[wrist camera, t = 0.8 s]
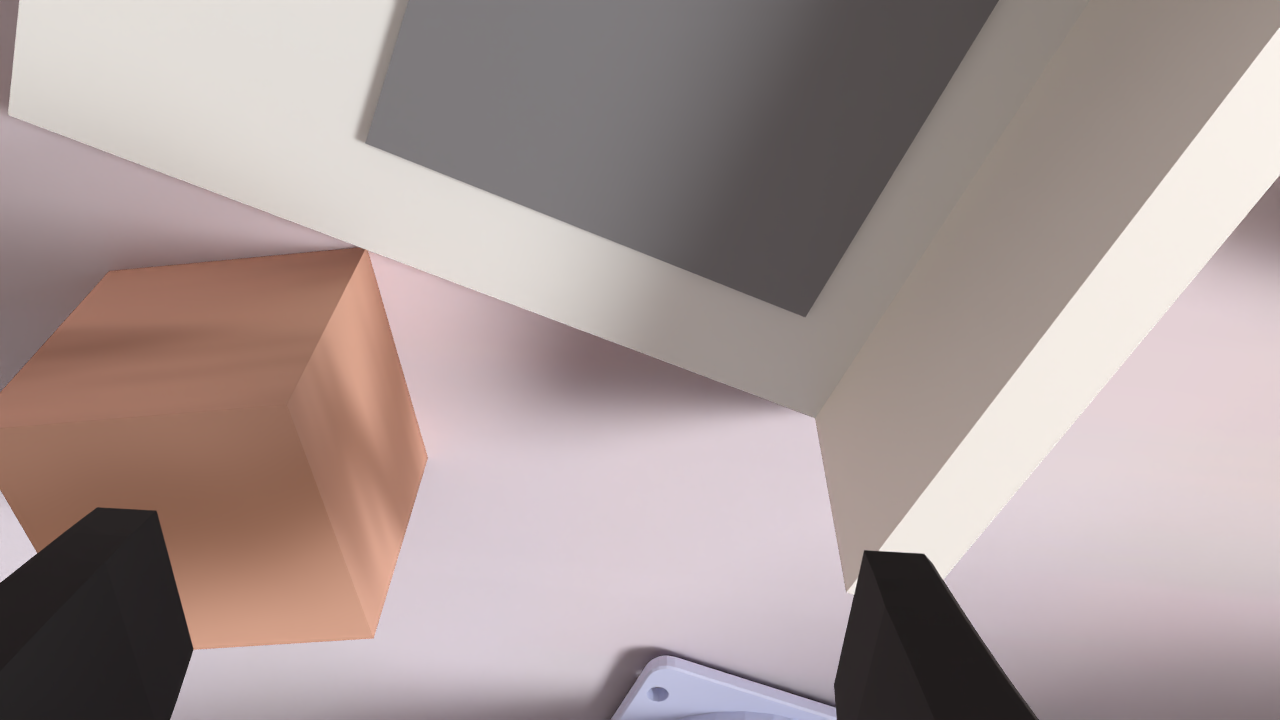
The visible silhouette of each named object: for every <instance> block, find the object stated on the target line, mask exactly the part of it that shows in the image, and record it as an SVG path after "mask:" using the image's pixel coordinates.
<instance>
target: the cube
mask: <svg viewBox="0 0 1280 720" xmlns="http://www.w3.org/2000/svg"><path fill="white" fill-rule="evenodd" d="M427 459H428V457H427V453H426V450H425V447H424V443H423V440H422V436H421V433H420V429H419V426H418V422H417V419H416V416H415V412H414V409H413V405H412V402H411V398H410V395H409V391H408V388H407V384H406V381H405V378H404V374H403V371H402V367H401V364H400V360H399V357H398V353H397V350H396V347H395V343H394V340H393V336H392V333H391V329H390V326H389V322H388V319H387V315H386V312H385V309H384V305H383V302H382V298H381V295H380V291H379V288H378V284H377V281H376V278H375V274H374V271H373V267H372V264H371V260H370V257H369V253H368V250H366V249H363V248H349V249H339V250H328V251H317V252H307V253H296V254H285V255H275V256H264V257H253V258H243V259H232V260H221V261H211V262H200V263H189V264H179V265H168V266H157V267H147V268H136V269H125V270H115V271H109V272H108V273H107V274H106V275H105V276H104V277H103V278H102V280H101V281H100V282H99V283H98V284H97V285H96V286H95V287H94V289H93V290H92V291H91V292H90V293H89V294H88V295H87V296H86V297H85V299H84V300H83V301H82V302H81V303H80V304H79V305H78V306H77V307H76V309H75V310H74V311H73V312H72V313H71V314H70V315H69V316H68V318H67V319H66V320H65V321H64V322H63V323H62V324H61V325H60V326H59V328H58V329H57V330H56V331H55V332H54V333H53V334H52V335H51V336H50V338H49V339H48V340H47V341H46V342H45V343H44V344H43V345H42V346H41V348H40V349H39V350H38V351H37V352H36V353H35V354H34V355H33V357H32V358H31V359H30V360H29V361H28V362H27V363H26V364H25V365H24V367H23V368H22V369H21V370H20V371H19V372H18V373H17V374H16V375H15V377H14V378H13V379H12V380H11V381H10V382H9V383H8V384H7V386H6V387H5V388H4V389H3V390H2V391H1V392H0V490H1V492H2V494H3V495H4V497H5V499H6V500H7V502H8V504H9V505H10V507H11V509H12V511H13V512H14V514H15V516H16V517H17V519H18V521H19V523H20V524H21V526H22V528H23V529H24V531H25V533H26V534H27V536H28V538H29V540H30V541H31V543H32V545H33V546H34V548H35V550H36V552H37V553H39V552H40V551H41V550H42V549H44V548H45V547H46V546H47V545H49V544H50V543H51V542H52V541H54V540H55V539H56V538H58V537H59V536H60V535H61V534H63V533H64V532H65V531H66V530H68V529H69V528H70V527H72V526H73V525H74V524H75V523H77V522H78V521H79V520H81V519H82V518H83V517H85V516H86V515H87V514H89V513H90V512H92V511H93V510H94V509H96V508H97V507H101V508H119V509H137V510H155V511H157V514H158V517H159V521H160V525H161V529H162V532H163V536H164V540H165V544H166V547H167V551H168V555H169V559H170V562H171V566H172V570H173V574H174V578H175V581H176V585H177V589H178V593H179V596H180V600H181V604H182V608H183V611H184V615H185V619H186V623H187V626H188V630H189V634H190V638H191V641H192V645H193V650H195V649H211V648H227V647H243V646H259V645H275V644H291V643H307V642H323V641H339V640H355V639H371V638H374V635H375V632H376V629H377V625H378V622H379V619H380V615H381V612H382V609H383V605H384V602H385V599H386V595H387V592H388V589H389V585H390V582H391V579H392V575H393V572H394V569H395V565H396V562H397V559H398V555H399V552H400V549H401V545H402V542H403V539H404V535H405V532H406V529H407V525H408V522H409V519H410V516H411V512H412V509H413V506H414V502H415V499H416V496H417V492H418V489H419V486H420V482H421V479H422V476H423V472H424V469H425V466H426V462H427Z"/></svg>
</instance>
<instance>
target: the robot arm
mask: <svg viewBox="0 0 1280 720" xmlns="http://www.w3.org/2000/svg"><path fill="white" fill-rule="evenodd" d="M192 652H193V645H192V641H191V638H190V634H189V630H188V626H187V623H186V619H185V615H184V611H183V608H182V604H181V600H180V596H179V593H178V589H177V585H176V581H175V578H174V574H173V570H172V566H171V562H170V559H169V555H168V551H167V547H166V544H165V540H164V536H163V532H162V529H161V525H160V521H159V517H158V514H157V511H155V510H137V509H119V508H101V507H97V508H96V509H94V510H93V511H92V512H90V513H89V514H87V515H86V516H85V517H83V518H82V519H81V520H79V521H78V522H77V523H75V524H74V525H73V526H72V527H70V528H69V529H68V530H66V531H65V532H64V533H63V534H61V535H60V536H59V537H58V538H56V539H55V540H54V541H52V542H51V543H50V544H49V545H47V546H46V547H45V548H44V549H42V550H41V551H40V552H39V553H37V554H36V555H35V556H34V557H32V558H31V559H30V560H28V561H27V562H26V563H25V564H23V565H22V566H21V567H20V568H18V569H17V570H16V571H15V572H13V573H12V574H11V575H10V576H8V577H7V578H6V579H5V580H3V581H2V582H1V583H0V720H170V718H171V715H172V712H173V710H174V707H175V704H176V701H177V698H178V695H179V692H180V689H181V686H182V683H183V680H184V677H185V674H186V671H187V668H188V665H189V661H190V658H191V655H192ZM654 687H662V688H654ZM834 689H835V702H836V708H835V707H832V706H829V705H826V704H822V703H819V702H816V701H813V700H810V699H807V698H803V697H800V696H797V695H794V694H791V693H788V692H784V691H781V690H778V689H775V688H772V687H769V686H765V685H762V684H759V683H756V682H753V681H750V680H747V679H743V678H740V677H737V676H734V675H731V674H728V673H724V672H721V671H718V670H715V669H712V668H709V667H705V666H702V665H699V664H696V663H693V662H690V661H687V660H683V659H680V658H677V657H674V656H668V655H666V656H659V657H656V658H654V659H652V660H651V661H650V662H649V663H647V665H646V666H645V668H644V669H643V671H642V672H641V674H640V676H639V677H638V679H637V680H636V682H635V683H634V685H633V686H632V688H631V689H630V691H629V692H628V694H627V695H626V697H625V699H624V700H623V702H622V703H621V705H620V706H619V708H618V709H617V711H616V712H615V714H614V715H613V717H612V718H611V720H1039V719H1038V718H1037V717H1036V715H1035V714H1034V713H1033V711H1032V710H1031V709H1030V707H1029V706H1028V705H1027V703H1026V702H1025V700H1024V699H1023V698H1022V696H1021V695H1020V694H1019V692H1018V691H1017V690H1016V688H1015V687H1014V685H1013V684H1012V682H1011V681H1010V680H1009V678H1008V677H1007V675H1006V674H1005V673H1004V671H1003V670H1002V668H1001V667H1000V665H999V664H998V662H997V661H996V660H995V658H994V657H993V655H992V654H991V652H990V651H989V649H988V648H987V646H986V645H985V643H984V642H983V640H982V639H981V637H980V636H979V634H978V633H977V631H976V630H975V628H974V627H973V625H972V624H971V622H970V621H969V619H968V618H967V616H966V615H965V613H964V612H963V610H962V609H961V607H960V606H959V604H958V602H957V601H956V599H955V598H954V596H953V595H952V593H951V592H950V590H949V588H948V587H947V585H946V584H945V582H944V581H943V579H942V577H941V576H940V574H939V573H938V571H937V570H936V568H935V566H934V565H933V563H932V562H931V561H930V560H929V559H928V558H927V556H926V555H925V554H922V553H904V552H887V551H869V550H864V553H863V557H862V562H861V566H860V571H859V575H858V580H857V584H856V589H855V593H854V598H853V602H852V607H851V611H850V616H849V620H848V625H847V629H846V634H845V638H844V643H843V647H842V652H841V656H840V661H839V665H838V670H837V674H836V679H835V683H834Z"/></svg>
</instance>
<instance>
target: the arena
mask: <svg viewBox="0 0 1280 720" xmlns="http://www.w3.org/2000/svg"><path fill="white" fill-rule="evenodd" d="M8 115H9V116H11V117H14V118H17V119H19V120H22V121H25V122H27V123H30V124H33V125H35V126H38V127H41V128H43V129H46V130H49V131H51V132H54V133H57V134H59V135H62V136H65V137H67V138H70V139H73V140H75V141H78V142H81V143H83V144H86V145H89V146H91V147H94V148H97V149H99V150H102V151H105V152H107V153H110V154H113V155H115V156H118V157H121V158H123V159H126V160H129V161H131V162H134V163H137V164H139V165H142V166H145V167H147V168H150V169H153V170H155V171H158V172H161V173H163V174H166V175H169V176H171V177H174V178H177V179H179V180H182V181H185V182H187V183H190V184H193V185H195V186H198V187H201V188H203V189H206V190H208V191H211V192H214V193H216V194H219V195H222V196H224V197H227V198H230V199H232V200H235V201H238V202H240V203H243V204H246V205H248V206H251V207H254V208H256V209H259V210H262V211H264V212H267V213H270V214H272V215H275V216H278V217H280V218H283V219H286V220H288V221H291V222H294V223H296V224H299V225H302V226H304V227H307V228H310V229H312V230H315V231H318V232H320V233H323V234H326V235H328V236H331V237H334V238H336V239H339V240H342V241H344V242H347V243H350V244H352V245H355V246H358V247H360V248H363V249H366V250H368V251H371V252H374V253H376V254H379V255H382V256H384V257H387V258H390V259H392V260H395V261H398V262H400V263H403V264H406V265H408V266H411V267H414V268H416V269H419V270H422V271H424V272H427V273H430V274H432V275H435V276H438V277H440V278H443V279H446V280H448V281H451V282H454V283H456V284H459V285H462V286H464V287H467V288H470V289H472V290H475V291H478V292H480V293H483V294H486V295H488V296H491V297H494V298H496V299H499V300H502V301H504V302H507V303H510V304H512V305H515V306H518V307H520V308H523V309H525V310H528V311H531V312H533V313H536V314H539V315H541V316H544V317H547V318H549V319H552V320H555V321H557V322H560V323H563V324H565V325H568V326H571V327H573V328H576V329H579V330H581V331H584V332H587V333H589V334H592V335H595V336H597V337H600V338H603V339H605V340H608V341H611V342H613V343H616V344H619V345H621V346H624V347H627V348H629V349H632V350H635V351H637V352H640V353H643V354H645V355H648V356H651V357H653V358H656V359H659V360H661V361H664V362H667V363H669V364H672V365H675V366H677V367H680V368H683V369H685V370H688V371H691V372H693V373H696V374H699V375H701V376H704V377H707V378H709V379H712V380H715V381H717V382H720V383H723V384H725V385H728V386H731V387H733V388H736V389H739V390H741V391H744V392H747V393H749V394H752V395H755V396H757V397H760V398H763V399H765V400H768V401H771V402H773V403H776V404H779V405H781V406H784V407H787V408H789V409H792V410H795V411H797V412H800V413H803V414H805V415H808V416H811V417H813V418H815V420H816V426H817V432H818V437H819V443H820V448H821V454H822V460H823V465H824V471H825V476H826V482H827V488H828V493H829V499H830V504H831V510H832V515H833V521H834V527H835V532H836V538H837V543H838V549H839V555H840V560H841V566H842V571H843V577H844V583H845V588H846V593H849V594H852V595H854V593H855V589H856V584H857V580H858V575H859V571H860V566H861V562H862V557H863V553H864V550H869V551H887V552H904V553H922V554H925V555H926V556H927V558H928V559H929V560H930V561H931V562H932V563H933V565H934V566H935V568H936V570H937V571H938V573H939V574H940V576H941V577H942V579H943V580H944V578H945V577H946V576H947V575H948V574H949V572H950V571H951V570H952V569H953V568H954V566H955V565H956V564H957V563H958V562H959V560H960V559H961V558H962V557H963V556H964V554H965V553H966V552H967V551H968V550H969V548H970V547H971V546H972V545H973V544H974V542H975V541H976V540H977V539H978V537H979V536H980V535H981V534H982V533H983V531H984V530H985V529H986V528H987V527H988V525H989V524H990V523H991V522H992V521H993V519H994V518H995V517H996V516H997V515H998V513H999V512H1000V511H1001V510H1002V509H1003V507H1004V506H1005V505H1006V504H1007V503H1008V501H1009V500H1010V499H1011V498H1012V497H1013V495H1014V494H1015V493H1016V492H1017V491H1018V489H1019V488H1020V487H1021V486H1022V485H1023V483H1024V482H1025V481H1026V480H1027V479H1028V477H1029V476H1030V475H1031V474H1032V473H1033V471H1034V470H1035V469H1036V468H1037V467H1038V465H1039V464H1040V463H1041V462H1042V461H1043V459H1044V458H1045V457H1046V456H1047V454H1048V453H1049V452H1050V451H1051V450H1052V448H1053V447H1054V446H1055V445H1056V444H1057V442H1058V441H1059V440H1060V439H1061V438H1062V436H1063V435H1064V434H1065V433H1066V432H1067V430H1068V429H1069V428H1070V427H1071V426H1072V424H1073V423H1074V422H1075V421H1076V420H1077V418H1078V417H1079V416H1080V415H1081V414H1082V412H1083V411H1084V410H1085V409H1086V408H1087V406H1088V405H1089V404H1090V403H1091V402H1092V400H1093V399H1094V398H1095V397H1096V396H1097V394H1098V393H1099V392H1100V391H1101V390H1102V388H1103V387H1104V386H1105V385H1106V384H1107V382H1108V381H1109V380H1110V379H1111V378H1112V376H1113V375H1114V374H1115V373H1116V372H1117V370H1118V369H1119V368H1120V367H1121V365H1122V364H1123V363H1124V362H1125V361H1126V359H1127V358H1128V357H1129V356H1130V355H1131V353H1132V352H1133V351H1134V350H1135V349H1136V347H1137V346H1138V345H1139V344H1140V343H1141V341H1142V340H1143V339H1144V338H1145V337H1146V335H1147V334H1148V333H1149V332H1150V331H1151V329H1152V328H1153V327H1154V326H1155V325H1156V323H1157V322H1158V321H1159V320H1160V319H1161V317H1162V316H1163V315H1164V314H1165V313H1166V311H1167V310H1168V309H1169V308H1170V307H1171V305H1172V304H1173V303H1174V302H1175V301H1176V299H1177V298H1178V297H1179V296H1180V295H1181V293H1182V292H1183V291H1184V290H1185V289H1186V287H1187V286H1188V285H1189V284H1190V282H1191V281H1192V280H1193V279H1194V278H1195V276H1196V275H1197V274H1198V273H1199V272H1200V270H1201V269H1202V268H1203V267H1204V266H1205V264H1206V263H1207V262H1208V261H1209V260H1210V258H1211V257H1212V256H1213V255H1214V254H1215V252H1216V251H1217V250H1218V249H1219V248H1220V246H1221V245H1222V244H1223V243H1224V242H1225V240H1226V239H1227V238H1228V237H1229V236H1230V234H1231V233H1232V232H1233V231H1234V230H1235V228H1236V227H1237V226H1238V225H1239V224H1240V222H1241V221H1242V220H1243V219H1244V218H1245V216H1246V215H1247V214H1248V213H1249V212H1250V210H1251V209H1252V208H1253V207H1254V206H1255V204H1256V203H1257V202H1258V201H1259V200H1260V198H1261V197H1262V196H1263V195H1264V193H1265V192H1266V191H1267V190H1268V189H1269V187H1270V186H1271V185H1272V184H1273V183H1274V181H1275V180H1276V179H1277V178H1278V177H1279V175H1280V0H19V9H18V19H17V29H16V39H15V49H14V59H13V69H12V78H11V88H10V98H9V108H8Z"/></svg>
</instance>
